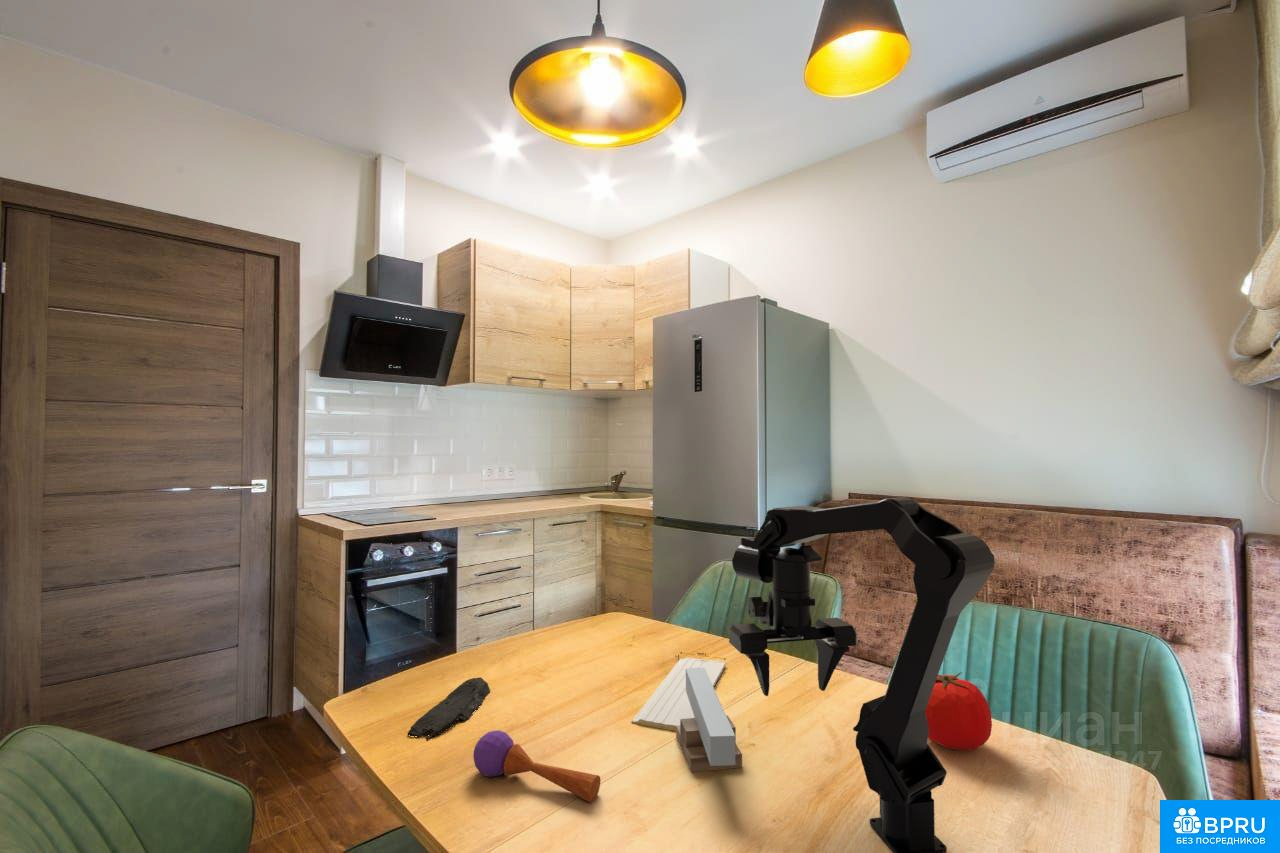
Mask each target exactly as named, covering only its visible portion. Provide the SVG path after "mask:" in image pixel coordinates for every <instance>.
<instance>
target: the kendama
mask: <svg viewBox="0 0 1280 853" xmlns="http://www.w3.org/2000/svg"><path fill="white" fill-rule="evenodd" d="M472 757H473V762H474V766H475V768H476V769H477V770H478V772H479V773H480V774H482V775H483V776H485V777H489V778H490V777H496V776H501V775H502V774H504V775H505V776H506V777H507V776H513V775H517V774H523V773H526V772H533V773H534V774H535V775H538V776H540V777H542V778H543V779H545V780H547V781H549V782H551V783H553V784H554V785H556V786H558V787H560V788H562V789H564V790H565V791H568V792H569V793H571V794H573V795H575V796H577V797H578V798H580V799H582V800H584V801H586V802H588V803H590V804H592V803H593V801H594V800H595V799H596V798H597V796H598V794H599V792H600V788H601V776H600V774H599V775H598V774H595V773H594V774H593V773H589V772H583V771H579V770H573V769H567V768H564V767H563V768H562V767H559V766H553V765H548V764H544V763H538V762H534V760H532V759H531V757H530V756H529V755H528V753H527V752H526V751H525V750H524V749H523V748H522V746H521V745H520V744H519V743H514V740H513V739H512V737H510V735H509V734H508V733H507V732H506V731H504V730H503V731H502V730H500V729H499V730H492V731H488V732H486V733H484V735H482V737H480V738H478V740H477V741H476V744H475V746H474V749H473V756H472Z"/></svg>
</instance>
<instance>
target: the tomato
mask: <svg viewBox="0 0 1280 853" xmlns="http://www.w3.org/2000/svg"><path fill="white" fill-rule="evenodd" d="M962 673H963V672H962V671H961V672H959V673H956V674H955V675H951V674H938V676H937V679H936V682H935V685H934V688H933V690H932V693H931V696H930V699H929V701H928V704H927V707H926V712H925V713H926V718H927V722H928V727H929V735H928V740H930V741H932V742H935V743H937V744H939V745H941V746H943V747H945V748H948V749H955V750H962V751H963V750H964V751H971V750H972V751H973V750H976V749H978V748H980V747H982V746H984V745H985V744H986V743H987V742H988V741H989V739H990V736H991V734H992V726H993V721H992V714H991V709H990V706H989V703H988V700H987V698H986V697H985V695H984V694H983V692H982V691H981V690H980V689H979V687H978V686H977V685H976V684H973V683H972V682H970V681H968V680H966V679H959V678H958V677H959V676H961V674H962Z"/></svg>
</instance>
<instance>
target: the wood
mask: <svg viewBox="0 0 1280 853" xmlns="http://www.w3.org/2000/svg"><path fill="white" fill-rule="evenodd" d="M490 693H491V688H490V687H489V683H488V682H487V681H486V680H484V679H483V677H472V678H469V679H466V680H465V681H463V682H462V683H461V684H459V686H457V687H456V688H455V689H454V690H453V691H451V692H450V693H449V694H448V695H447V696H446V697H445V698H444V699H443V700H441V701H440V702H439V703H438V704H436V705H435V706H433V707H432V708H430V709H429V710H428V711H427V712H426V713H424V714H423V715H422V716H421V717H420V718H418V719H417V720H416V721H415V722H414V724H412V726H410V729H409V731H408V732H407V736H408V735H410V736H414V737H415V736H417V737H420V738H422V737H425V739H426V738H427V739H426V741H429V740H430V738H433V737H432V736H435V737H437V736H439V735H441V734H442V733H444V731H445V730H446V729H447V728H448V729H450V728H451V727H452V726H453V725H454V724H455V723H456V722H457V721H461V720H462V721H461V722H465V721H468V720H469V719H470V718H472V716H473V715H474V713H475V712H476V711H475V710H476V709H477V710H479V708H480V707H481V706H483V702H484V700H483V699H485V698H486V695H489V694H490ZM479 706H480V707H479ZM474 711H475V712H474ZM473 712H474V713H473ZM472 713H473V714H472ZM467 719H468V720H467ZM455 721H456V722H455ZM454 722H455V723H454ZM453 723H454V724H453ZM452 724H453V725H452ZM451 725H452V726H451ZM450 726H451V727H450ZM448 729H447V730H448ZM447 730H446V731H447ZM446 731H445V732H446ZM441 732H442V733H441ZM438 734H439V735H438ZM423 735H425V736H423ZM426 735H427V737H426ZM428 735H429V736H428Z"/></svg>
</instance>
